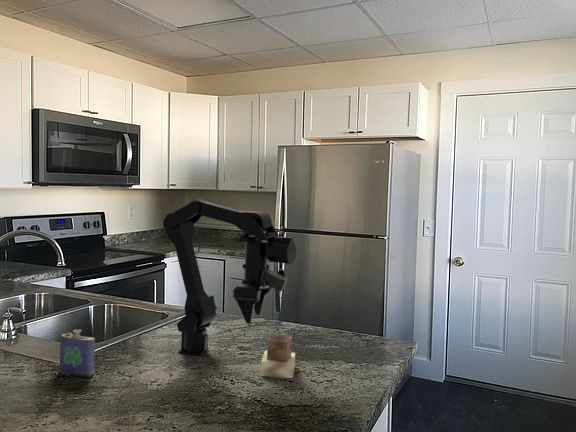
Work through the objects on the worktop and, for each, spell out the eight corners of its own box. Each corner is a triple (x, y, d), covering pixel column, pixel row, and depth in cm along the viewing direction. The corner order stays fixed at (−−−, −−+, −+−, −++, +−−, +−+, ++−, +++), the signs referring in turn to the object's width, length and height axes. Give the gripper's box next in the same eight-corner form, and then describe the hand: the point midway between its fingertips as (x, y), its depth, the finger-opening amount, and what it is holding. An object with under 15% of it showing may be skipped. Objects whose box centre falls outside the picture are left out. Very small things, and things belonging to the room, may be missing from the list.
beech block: (260, 377, 121) (261, 361, 121) (264, 365, 129) (265, 350, 129) (292, 379, 121) (293, 363, 121) (294, 367, 129) (295, 352, 128)
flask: (96, 374, 117) (97, 330, 117) (88, 378, 115) (89, 333, 114) (64, 368, 120) (64, 325, 119) (55, 372, 117) (56, 328, 116)
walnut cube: (267, 359, 122) (267, 340, 122) (272, 353, 127) (273, 334, 127) (286, 362, 121) (287, 342, 121) (291, 355, 126) (291, 336, 126)
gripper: (278, 267, 117) (275, 332, 118) (293, 257, 135) (290, 313, 136) (233, 264, 119) (230, 327, 120) (254, 254, 137) (251, 309, 138)
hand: (253, 318), depth 129 cm, fingers open, 9 cm apart
